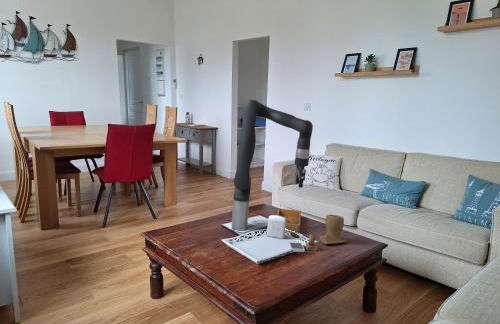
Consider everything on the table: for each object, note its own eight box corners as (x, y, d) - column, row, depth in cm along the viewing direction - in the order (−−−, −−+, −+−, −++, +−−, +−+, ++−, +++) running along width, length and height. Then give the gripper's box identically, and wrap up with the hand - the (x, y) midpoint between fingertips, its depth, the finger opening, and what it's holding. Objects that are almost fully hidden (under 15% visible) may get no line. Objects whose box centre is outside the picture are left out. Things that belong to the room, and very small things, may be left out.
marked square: (305, 252, 176) (305, 251, 176) (301, 245, 184) (301, 245, 184) (320, 252, 177) (320, 252, 177) (316, 246, 185) (316, 245, 185)
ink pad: (290, 251, 176) (291, 248, 176) (288, 245, 184) (288, 242, 183) (304, 252, 176) (304, 248, 176) (301, 245, 184) (301, 242, 184)
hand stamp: (307, 251, 178) (308, 237, 177) (305, 247, 183) (306, 233, 182) (316, 251, 179) (318, 237, 177) (314, 247, 184) (315, 233, 182)
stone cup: (335, 236, 202) (338, 211, 199) (349, 244, 191) (352, 218, 189) (314, 238, 196) (316, 213, 193) (326, 247, 185) (329, 220, 182)
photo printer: (285, 237, 195) (287, 216, 193) (283, 239, 191) (285, 218, 189) (267, 233, 198) (269, 213, 196) (265, 236, 194) (267, 215, 192)
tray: (277, 215, 234) (278, 207, 233) (300, 218, 232) (301, 210, 231) (273, 231, 204) (274, 222, 203) (299, 234, 202) (300, 225, 201)
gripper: (293, 154, 195) (290, 182, 198) (298, 158, 181) (294, 188, 184) (306, 155, 196) (302, 183, 199) (311, 159, 182) (308, 189, 185)
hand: (298, 185), depth 191 cm, fingers open, 8 cm apart
